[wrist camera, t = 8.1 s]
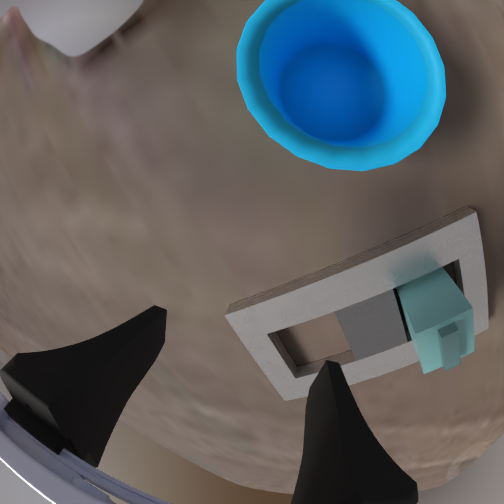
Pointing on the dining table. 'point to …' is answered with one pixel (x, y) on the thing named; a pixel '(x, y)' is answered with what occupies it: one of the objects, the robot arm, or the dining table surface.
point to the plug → (437, 320)
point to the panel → (362, 303)
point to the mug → (342, 80)
